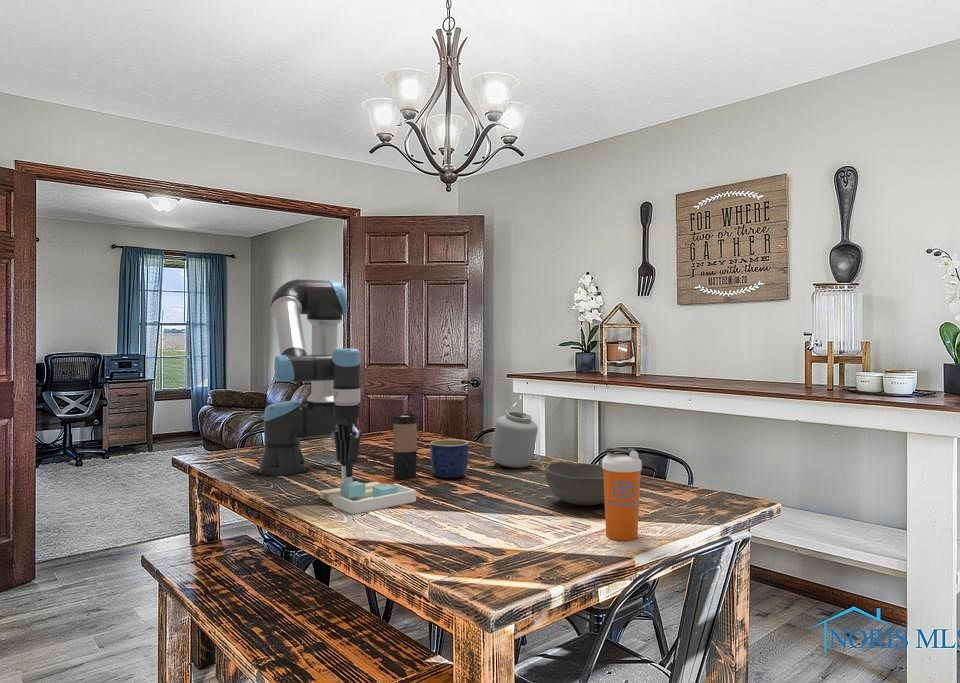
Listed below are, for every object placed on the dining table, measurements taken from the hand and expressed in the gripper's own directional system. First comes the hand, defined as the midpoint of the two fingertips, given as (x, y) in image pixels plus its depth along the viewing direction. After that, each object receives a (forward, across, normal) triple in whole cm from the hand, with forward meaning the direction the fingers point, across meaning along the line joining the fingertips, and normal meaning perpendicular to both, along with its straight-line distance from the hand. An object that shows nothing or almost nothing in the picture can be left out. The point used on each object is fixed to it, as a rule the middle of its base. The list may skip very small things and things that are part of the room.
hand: (347, 487), depth 179 cm
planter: (+4, -6, +40) cm, 41 cm away
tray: (+3, +8, +4) cm, 10 cm away
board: (+3, -2, +4) cm, 6 cm away
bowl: (+4, +45, +47) cm, 65 cm away
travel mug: (+3, -14, +28) cm, 31 cm away
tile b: (+1, +3, 0) cm, 3 cm away
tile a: (+3, +7, +8) cm, 11 cm away
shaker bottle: (+4, +69, +33) cm, 77 cm away
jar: (+3, -3, +67) cm, 67 cm away
